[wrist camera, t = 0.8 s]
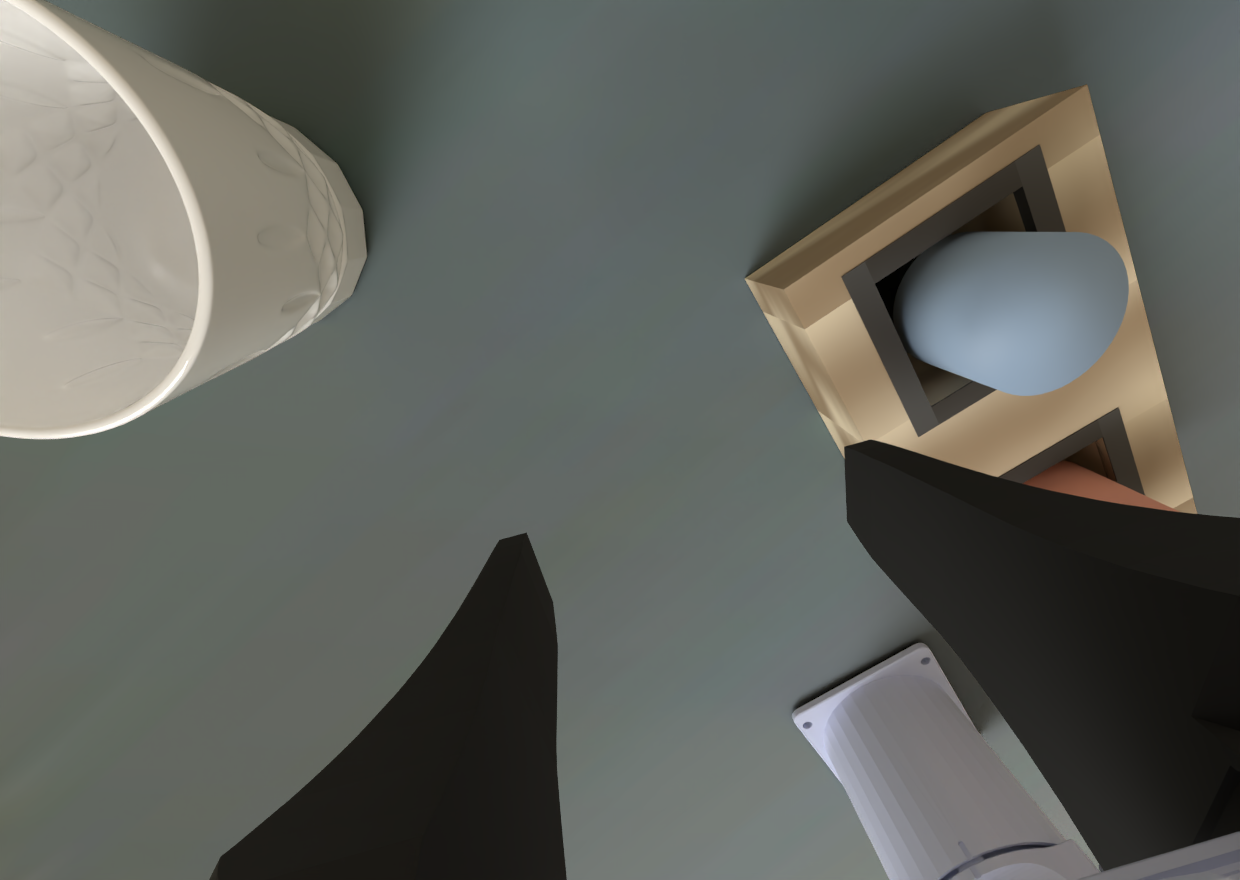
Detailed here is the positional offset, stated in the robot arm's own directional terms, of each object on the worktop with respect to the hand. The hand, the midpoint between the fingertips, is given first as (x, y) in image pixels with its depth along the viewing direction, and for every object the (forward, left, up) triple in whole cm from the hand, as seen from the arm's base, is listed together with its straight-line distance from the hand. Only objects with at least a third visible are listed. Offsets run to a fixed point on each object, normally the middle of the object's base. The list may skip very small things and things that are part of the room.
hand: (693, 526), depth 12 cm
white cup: (+12, +7, -11) cm, 18 cm away
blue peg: (-3, -11, -7) cm, 13 cm away
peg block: (-8, -11, -11) cm, 17 cm away
